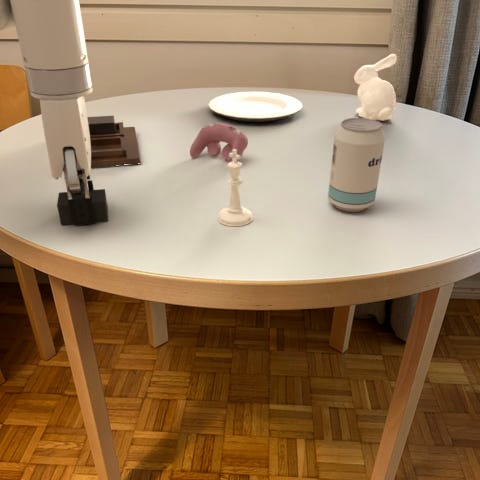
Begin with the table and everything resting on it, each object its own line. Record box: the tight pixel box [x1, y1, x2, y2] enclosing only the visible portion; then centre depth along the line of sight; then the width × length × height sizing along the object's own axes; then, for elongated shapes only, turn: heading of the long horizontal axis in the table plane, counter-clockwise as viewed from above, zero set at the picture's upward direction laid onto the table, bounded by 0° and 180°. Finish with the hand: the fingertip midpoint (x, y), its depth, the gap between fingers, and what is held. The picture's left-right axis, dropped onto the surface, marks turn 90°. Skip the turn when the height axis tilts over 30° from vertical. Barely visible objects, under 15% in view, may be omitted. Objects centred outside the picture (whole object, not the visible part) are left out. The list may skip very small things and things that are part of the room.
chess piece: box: [217, 149, 253, 227], centre depth 73 cm, size 5×5×10 cm
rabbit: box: [353, 53, 398, 122], centre depth 113 cm, size 12×9×12 cm
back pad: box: [56, 188, 109, 226], centre depth 75 cm, size 6×4×3 cm
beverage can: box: [327, 117, 386, 213], centre depth 76 cm, size 7×7×12 cm
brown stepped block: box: [87, 115, 142, 169], centre depth 97 cm, size 14×18×4 cm
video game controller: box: [189, 122, 249, 164], centre depth 94 cm, size 10×5×7 cm, turn 56°
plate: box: [208, 91, 303, 123], centre depth 118 cm, size 21×21×2 cm
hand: (84, 214), depth 76 cm, fingers closed on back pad, 4 cm apart
